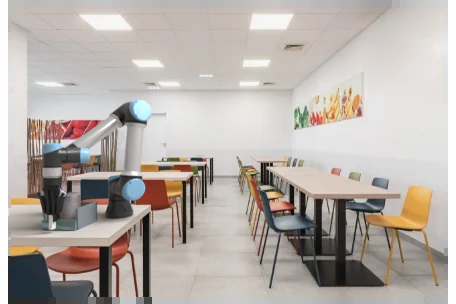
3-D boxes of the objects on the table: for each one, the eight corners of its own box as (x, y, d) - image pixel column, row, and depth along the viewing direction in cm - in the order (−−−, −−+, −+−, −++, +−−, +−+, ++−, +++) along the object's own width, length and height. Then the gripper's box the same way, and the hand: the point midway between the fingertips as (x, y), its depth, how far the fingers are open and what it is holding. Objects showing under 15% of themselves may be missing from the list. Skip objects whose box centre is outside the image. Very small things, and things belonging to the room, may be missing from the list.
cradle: (66, 220, 159) (66, 201, 159) (97, 220, 158) (96, 201, 158) (43, 229, 141) (43, 208, 141) (78, 229, 140) (77, 208, 140)
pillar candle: (71, 218, 156) (70, 189, 155) (85, 219, 152) (84, 190, 152) (54, 222, 147) (53, 192, 146) (69, 224, 143) (68, 193, 143)
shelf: (65, 220, 157) (65, 212, 157) (94, 220, 156) (94, 212, 156) (42, 229, 139) (42, 220, 139) (75, 229, 138) (75, 220, 138)
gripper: (71, 176, 138) (70, 227, 138) (44, 176, 139) (44, 226, 139) (60, 177, 131) (60, 231, 131) (32, 177, 132) (32, 230, 132)
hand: (52, 228), depth 135 cm, fingers closed
